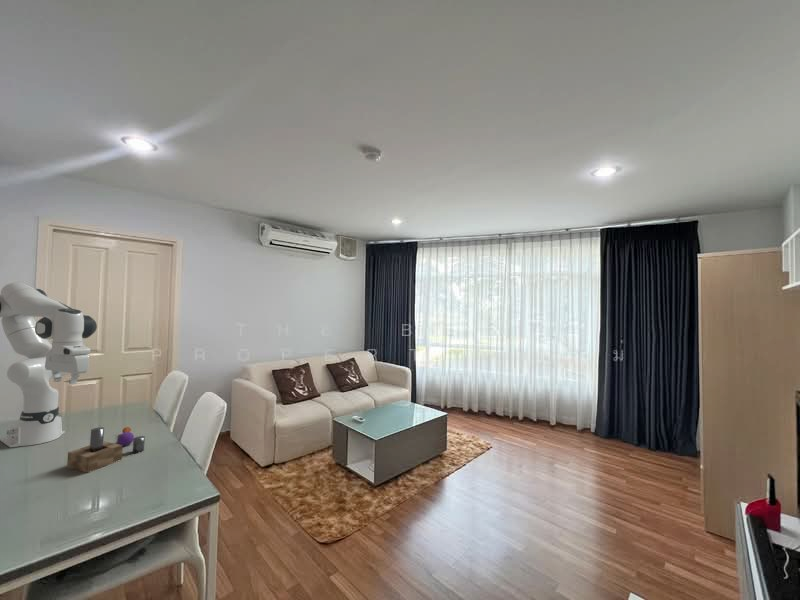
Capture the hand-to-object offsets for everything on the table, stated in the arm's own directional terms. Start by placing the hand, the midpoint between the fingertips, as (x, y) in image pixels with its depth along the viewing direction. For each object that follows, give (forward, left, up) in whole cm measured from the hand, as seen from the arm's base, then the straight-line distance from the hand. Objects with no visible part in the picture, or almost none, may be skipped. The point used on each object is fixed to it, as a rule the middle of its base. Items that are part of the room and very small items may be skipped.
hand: (64, 382), depth 132 cm
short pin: (+15, +20, -33) cm, 42 cm away
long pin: (+11, +6, -33) cm, 35 cm away
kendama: (-3, +27, -34) cm, 43 cm away
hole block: (+11, +6, -33) cm, 35 cm away
